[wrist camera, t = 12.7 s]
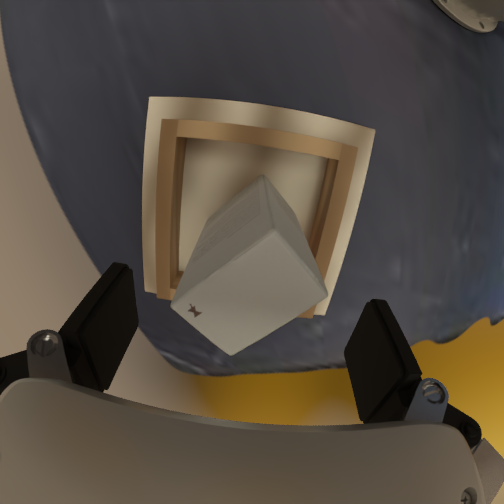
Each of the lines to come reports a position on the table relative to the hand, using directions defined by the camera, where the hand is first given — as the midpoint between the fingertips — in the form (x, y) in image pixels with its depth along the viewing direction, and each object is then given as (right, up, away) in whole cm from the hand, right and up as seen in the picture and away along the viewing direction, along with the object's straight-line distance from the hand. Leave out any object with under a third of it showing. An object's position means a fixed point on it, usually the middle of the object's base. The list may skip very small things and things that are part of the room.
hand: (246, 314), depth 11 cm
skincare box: (0, +6, +12) cm, 13 cm away
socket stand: (0, +6, +13) cm, 15 cm away
